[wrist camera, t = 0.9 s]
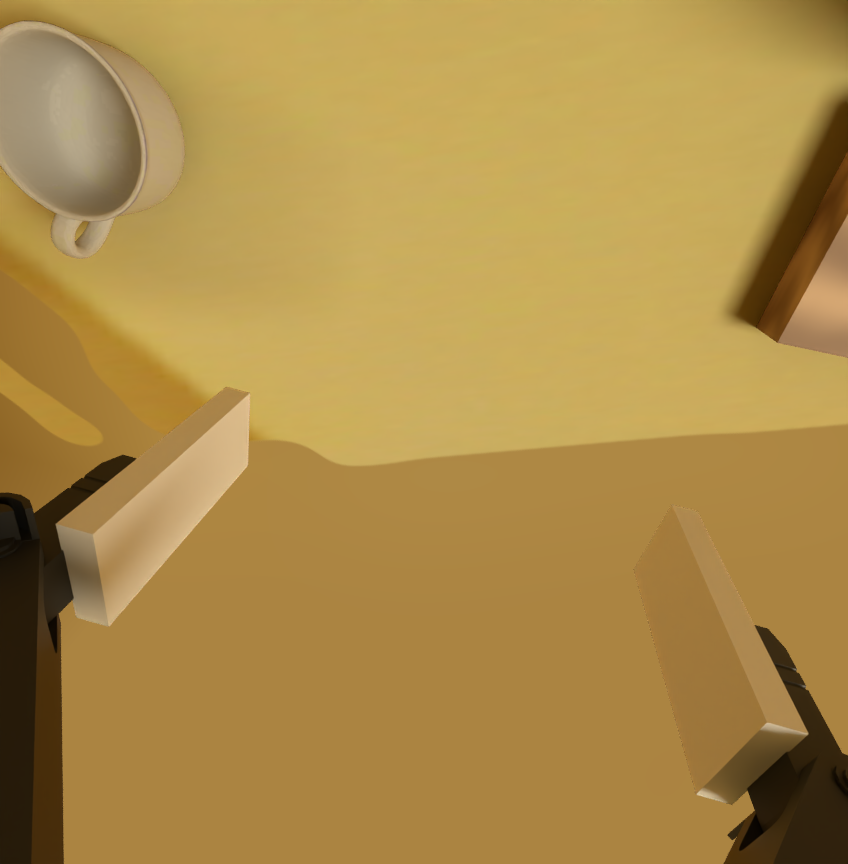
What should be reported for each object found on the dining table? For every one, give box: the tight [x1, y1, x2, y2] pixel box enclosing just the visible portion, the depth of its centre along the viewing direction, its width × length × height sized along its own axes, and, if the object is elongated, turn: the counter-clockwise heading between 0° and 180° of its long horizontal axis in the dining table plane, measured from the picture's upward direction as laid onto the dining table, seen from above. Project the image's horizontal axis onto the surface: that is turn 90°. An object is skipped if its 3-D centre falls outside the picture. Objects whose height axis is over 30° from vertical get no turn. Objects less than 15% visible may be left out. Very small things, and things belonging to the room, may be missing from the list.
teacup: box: [0, 21, 185, 259], centre depth 35 cm, size 14×11×8 cm
